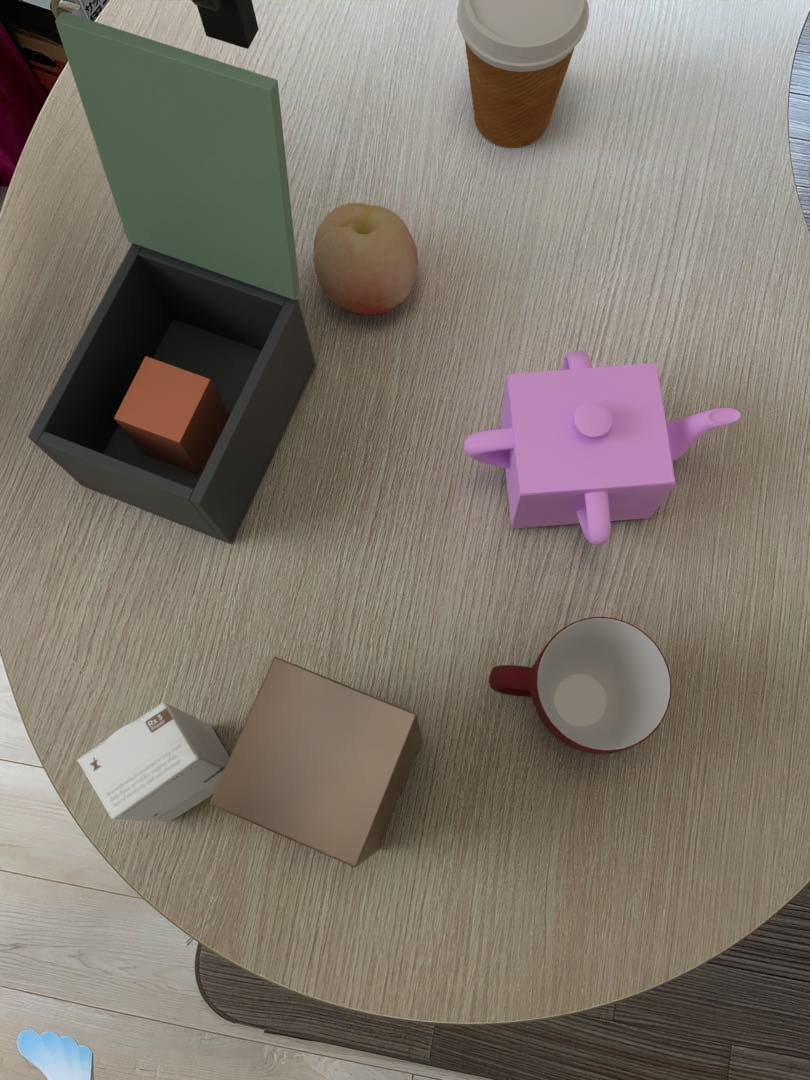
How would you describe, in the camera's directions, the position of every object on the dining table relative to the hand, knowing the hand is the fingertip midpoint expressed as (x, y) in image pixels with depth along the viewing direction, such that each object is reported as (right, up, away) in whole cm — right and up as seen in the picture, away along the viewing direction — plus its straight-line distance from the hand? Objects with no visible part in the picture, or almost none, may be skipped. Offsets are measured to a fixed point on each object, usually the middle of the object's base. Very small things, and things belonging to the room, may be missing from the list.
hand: (232, 32), depth 55 cm
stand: (+6, -45, +10) cm, 47 cm away
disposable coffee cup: (+19, +6, +24) cm, 31 cm away
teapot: (+23, -25, +15) cm, 37 cm away
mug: (+21, -41, +11) cm, 47 cm away
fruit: (+7, -9, +20) cm, 23 cm away
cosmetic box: (-5, -45, +11) cm, 47 cm away
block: (-6, -22, +16) cm, 28 cm away
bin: (-6, -21, +17) cm, 27 cm away
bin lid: (-3, -8, +2) cm, 8 cm away
